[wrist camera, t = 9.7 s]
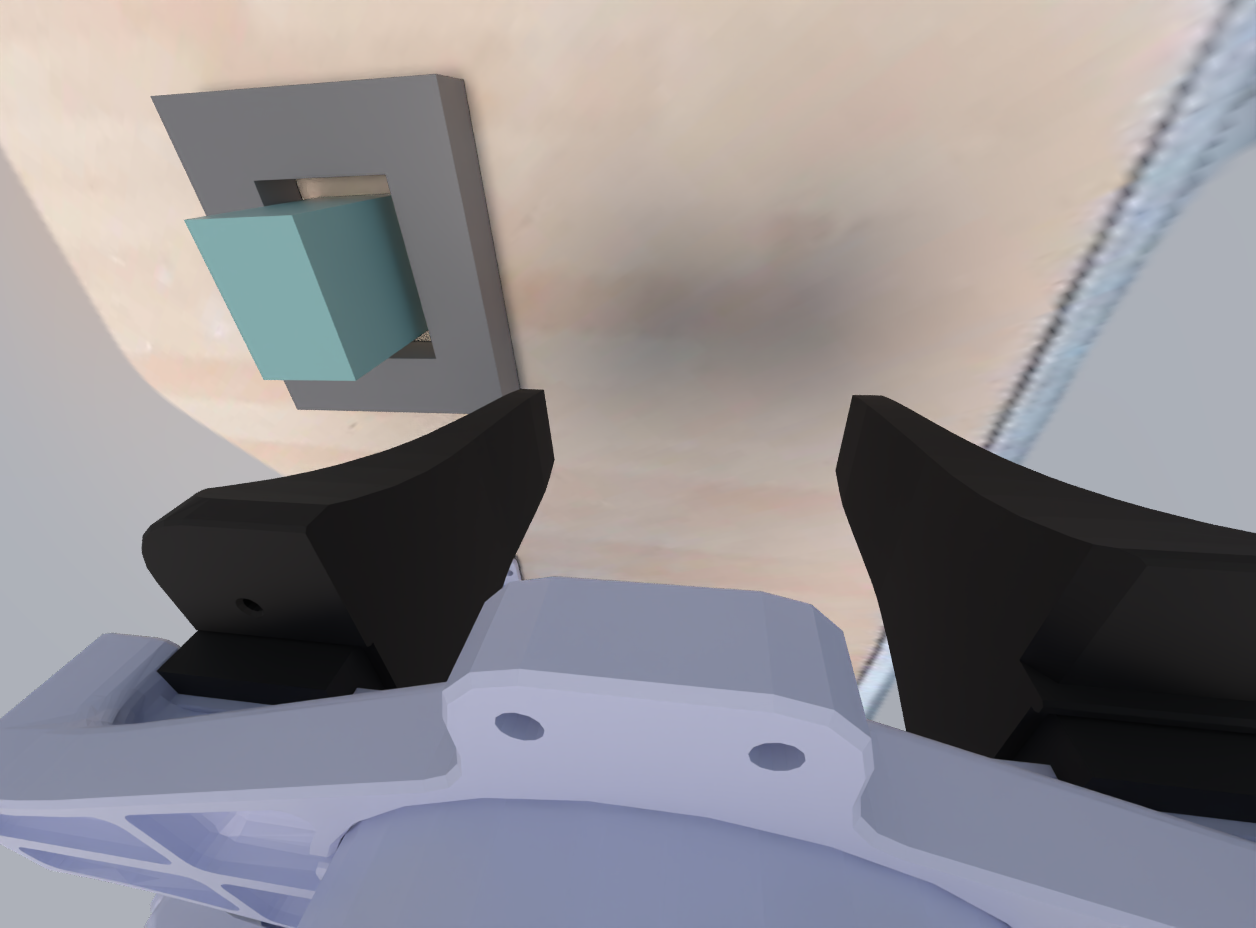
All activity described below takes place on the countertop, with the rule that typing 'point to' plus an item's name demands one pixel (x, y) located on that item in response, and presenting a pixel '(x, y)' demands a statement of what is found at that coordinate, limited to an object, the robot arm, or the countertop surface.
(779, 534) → the countertop surface
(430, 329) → the socket plate
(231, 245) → the plug
